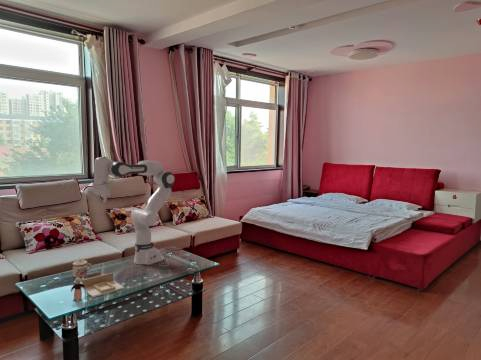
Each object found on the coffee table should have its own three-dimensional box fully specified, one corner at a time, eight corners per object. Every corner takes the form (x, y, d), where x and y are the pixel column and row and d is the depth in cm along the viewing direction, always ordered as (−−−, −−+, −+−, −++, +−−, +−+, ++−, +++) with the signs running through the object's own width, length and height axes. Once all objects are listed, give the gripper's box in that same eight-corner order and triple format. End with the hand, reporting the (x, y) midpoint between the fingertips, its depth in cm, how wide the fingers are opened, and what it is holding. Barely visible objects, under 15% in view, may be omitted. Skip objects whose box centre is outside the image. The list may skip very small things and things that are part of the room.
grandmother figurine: (71, 302, 188) (71, 280, 187) (70, 300, 191) (69, 277, 190) (86, 299, 193) (86, 277, 191) (85, 296, 196) (84, 275, 195)
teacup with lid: (75, 279, 220) (75, 262, 219) (70, 275, 226) (70, 258, 225) (94, 275, 228) (94, 258, 227) (89, 271, 235) (89, 255, 234)
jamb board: (103, 275, 229) (103, 266, 228) (124, 288, 208) (124, 279, 207) (73, 282, 215) (73, 273, 215) (92, 297, 195) (92, 287, 194)
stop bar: (98, 277, 221) (98, 270, 221) (100, 279, 219) (100, 272, 218) (85, 281, 216) (85, 273, 215) (88, 282, 213) (87, 275, 213)
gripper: (112, 182, 226) (113, 203, 227) (100, 179, 240) (100, 199, 242) (103, 182, 221) (103, 204, 223) (90, 180, 236) (91, 200, 237)
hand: (101, 201), depth 232 cm, fingers open, 8 cm apart
